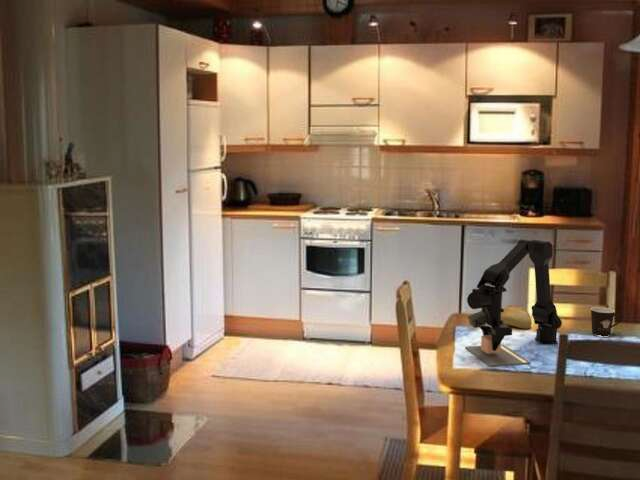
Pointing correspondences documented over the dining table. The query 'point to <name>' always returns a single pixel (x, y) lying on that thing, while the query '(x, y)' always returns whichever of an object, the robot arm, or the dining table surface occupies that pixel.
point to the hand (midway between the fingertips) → (490, 348)
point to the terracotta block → (488, 344)
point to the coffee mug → (603, 320)
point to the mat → (498, 356)
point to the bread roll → (516, 317)
